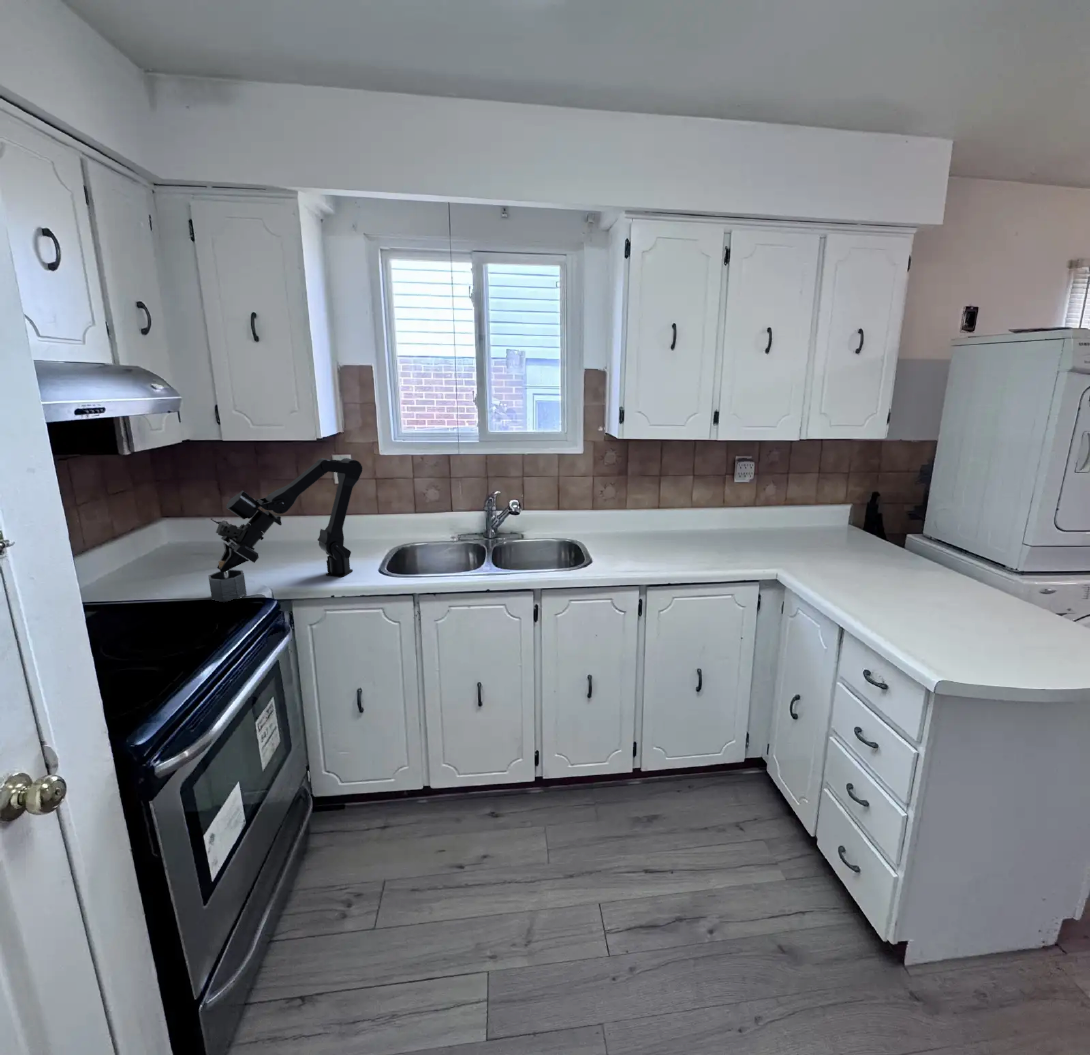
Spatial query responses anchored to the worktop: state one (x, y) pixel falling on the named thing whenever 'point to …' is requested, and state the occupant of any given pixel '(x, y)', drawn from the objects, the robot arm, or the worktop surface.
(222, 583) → the grey octagonal pot
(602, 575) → the worktop surface
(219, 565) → the plunger
